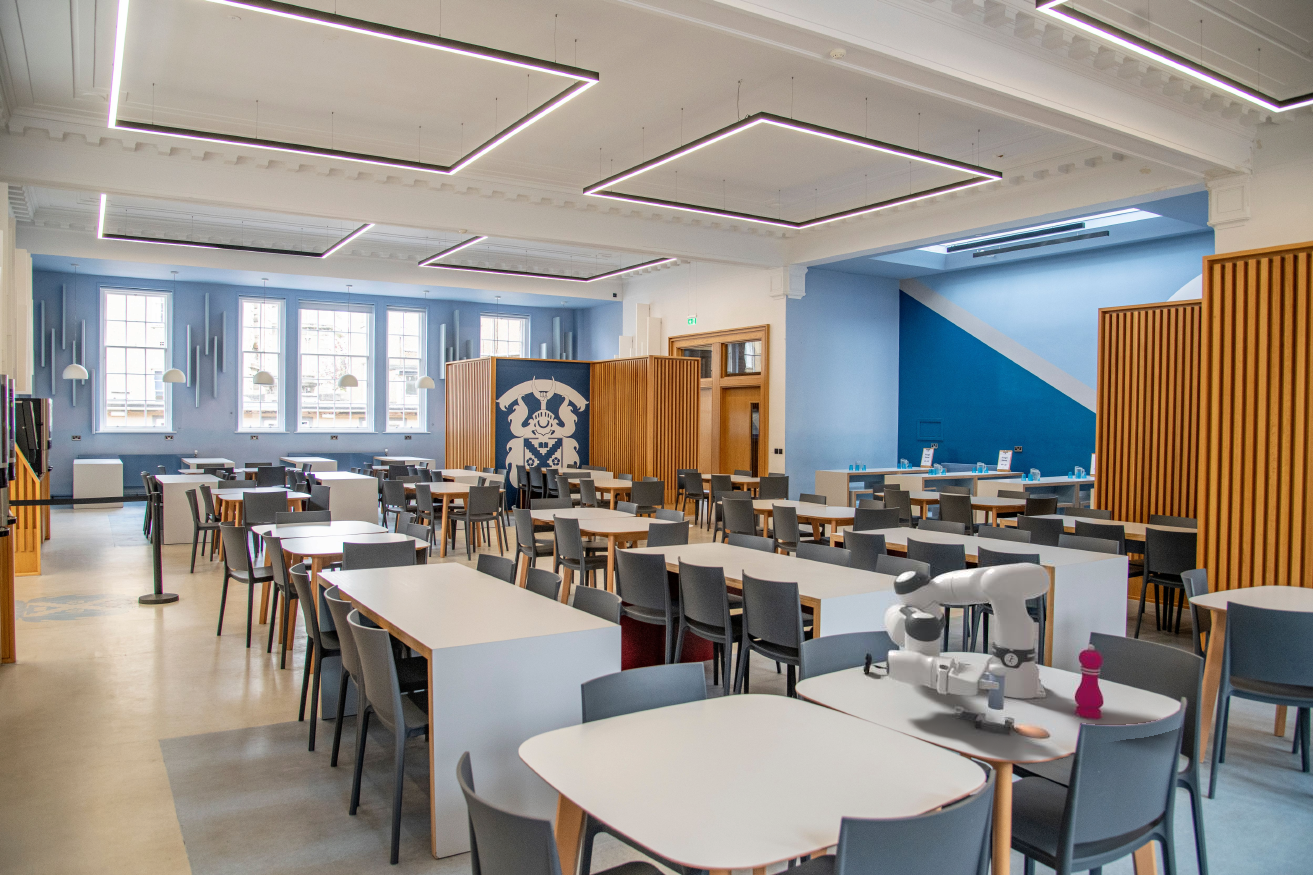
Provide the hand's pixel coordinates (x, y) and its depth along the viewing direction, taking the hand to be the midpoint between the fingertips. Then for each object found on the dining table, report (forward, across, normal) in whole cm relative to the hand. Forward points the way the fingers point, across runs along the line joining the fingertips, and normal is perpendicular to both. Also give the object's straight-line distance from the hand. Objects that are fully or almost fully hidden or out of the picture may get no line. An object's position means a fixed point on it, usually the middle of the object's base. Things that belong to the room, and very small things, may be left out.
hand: (1000, 683), depth 215 cm
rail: (-4, -3, -13) cm, 14 cm away
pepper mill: (+20, -29, -13) cm, 38 cm away
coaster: (+8, -5, -13) cm, 16 cm away
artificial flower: (-35, -37, -14) cm, 52 cm away
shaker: (-1, 0, -7) cm, 7 cm away
